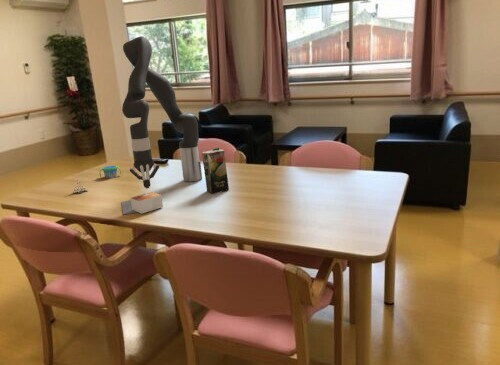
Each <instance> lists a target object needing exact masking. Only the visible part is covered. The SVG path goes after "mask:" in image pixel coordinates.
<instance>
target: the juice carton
mask: <svg viewBox="0 0 500 365" xmlns="http://www.w3.org/2000/svg"><path fill="white" fill-rule="evenodd" d="M201 154H202V165H203V170H204V171H203V172H204V177H205V178H204V179H205V186H206V192H208V193H210V194H211V195H213V194H214V195H215V194H217V193H221V192H222V193H224V192H226V191H230V190H229V188H230V187H229V179H228V178H229V177H228V172H227V165H226V164H227V163H226V156H225V150H224V149H220V148H219V147H214V148H213V149H212V150H208V151H203V152H201Z"/></svg>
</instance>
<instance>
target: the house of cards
mask: <svg viewBox="0 0 500 365" xmlns="http://www.w3.org/2000/svg"><path fill="white" fill-rule="evenodd" d="M76 182H78V184H81V181H79V180H78V179H77V181H76ZM86 190H87V188H86V187H85V186H84V185H77V186H75V188H74V189H73V191H72V194H74V193H77V194H81V193H83V192H84V193H85V191H86Z"/></svg>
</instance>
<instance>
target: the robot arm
mask: <svg viewBox="0 0 500 365" xmlns="http://www.w3.org/2000/svg"><path fill="white" fill-rule="evenodd" d="M122 51H123V53H124V55H125V57H126V58H127V59H128V61H129V63H131V65H132V66H133V69H132V71H131V74H130V75H129V78H128V85H127V93H126V96H125V98H124V100H123V103H122V108H121V109H122V110H121V111H122V114H123V116H124V117H125V118H126V119H137V118H138V119H139V118H140V120H139V122H136V123H133V124H131V125H130V126H129V132H130V138H131V149H132V156H133V166H132V167H131V168H129V172H130V173H131V174H132V175H134V177H135V178H137V179H138V180H141V181H142V183H143V188H145V189H150V187H151V179H153V178H154V177H155V175H156V173H158V170H159V169H160V165H159V164H156V163H155V161H154V160H153V155H152V149H151V148H152V146H151V141H150V138H149V131H148V120H149V114H150V105H149V103H148V101H146V100H144V98H145V97H146V89H147V87H146V85H147V86H148V88H149V90H150V91H151V93H152V94H153V96H154V97H155V99H156V100H157V101H158V103H159V104H160V106H161V107H162V109H163V111H164V112H165V113H166V115H167V117H168V119H169V121H170V123H171V124H172V126H173V127H174V129H175V131H176V132H178V133H180V134H183V138H182V140H181V141H179V142H178V143H179V144H178V145H179V154H180V162H181V168H182V177H183V181H184V182H196V181H199V180H203V173H202V165H201V160H200V153H199V144H198V142H199V138H200V137H199V124H198V120H197V118H196V116H194V115H191V114H184V113H183V112H182V111H181V109H180V108H179V105H178V104H177V98H176V92H175V89H174V88H173V86H172V85H171V83H170V81H169V80H168V79H167V77H165V76H164V75H163V74H161V73H159V72H157V71H156V70H154V69H152V68H151V67H150V63H151V59H152V52H153V48H152V45H151V42H150V41H149V39H147V37H145V36H141V35H140V36H138V37H135V38H133V39H131V40H128V41H126V42H125V43H123V45H122ZM152 168H153V169H152ZM151 170H152V171H151ZM136 171H138V172H139V173H140V174H141V175H140V174H138V172H136ZM150 172H151V173H150Z"/></svg>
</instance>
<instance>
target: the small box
mask: <svg viewBox="0 0 500 365" xmlns="http://www.w3.org/2000/svg"><path fill="white" fill-rule="evenodd" d="M130 201H131V205H132V210H134V211H136V212H138V213H139V214H141V215H142V214H145V213H147V212H152V211H155V210H158V209H161V208H164V207H163V206H164V204H163V197H162V194H160V193H157V192H153V191H149V192H147V193H143V194H140V195H136V196H133V197H130Z"/></svg>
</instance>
